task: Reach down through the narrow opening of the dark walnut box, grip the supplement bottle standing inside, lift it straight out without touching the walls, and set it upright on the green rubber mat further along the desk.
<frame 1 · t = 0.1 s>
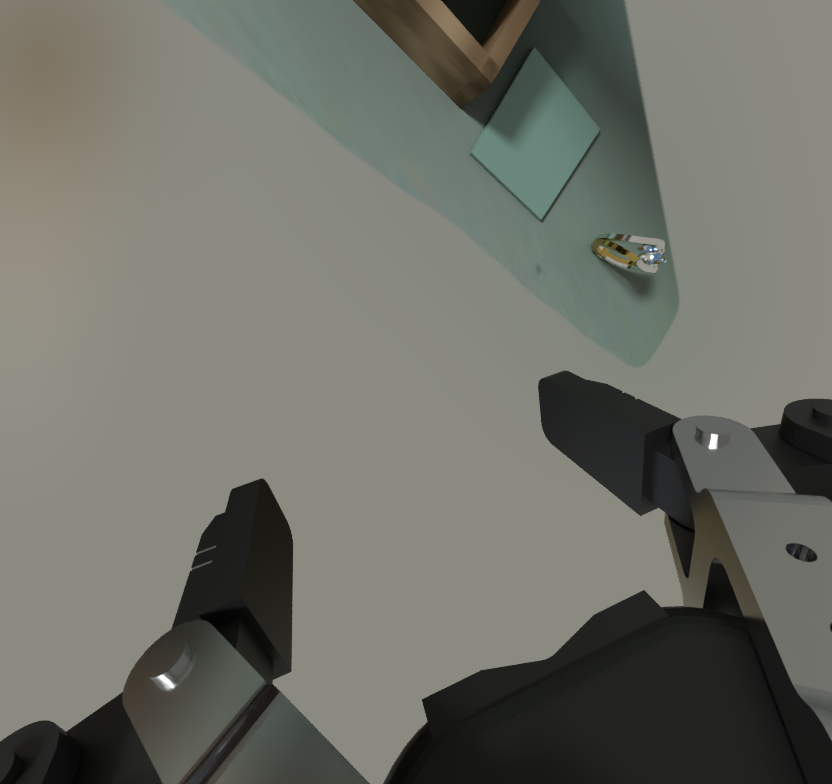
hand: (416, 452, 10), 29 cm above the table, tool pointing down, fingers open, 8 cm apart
ring: (598, 253, 43), on the table
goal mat: (535, 141, 36), on the table
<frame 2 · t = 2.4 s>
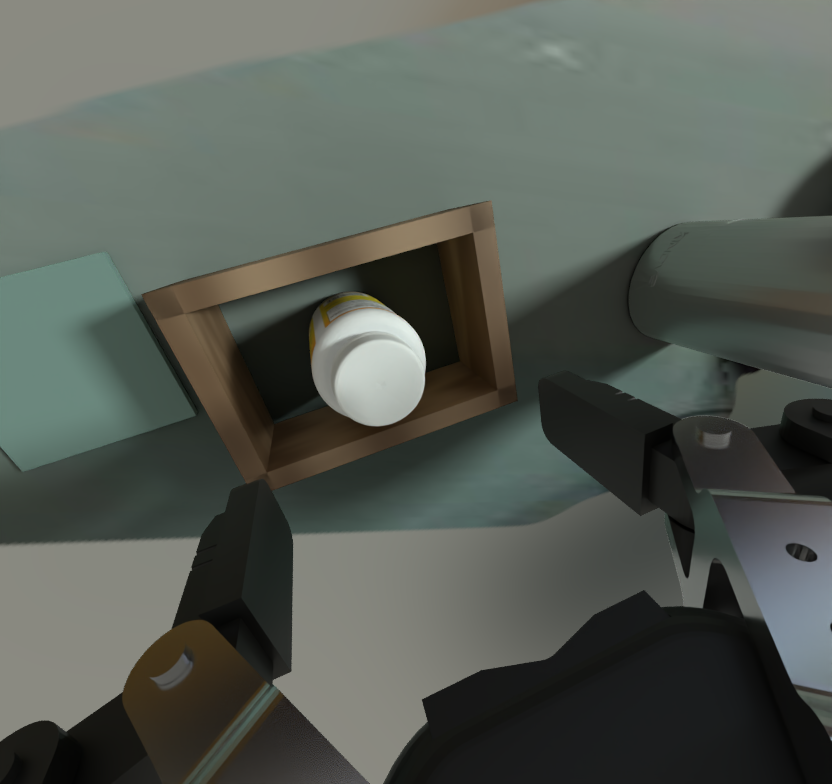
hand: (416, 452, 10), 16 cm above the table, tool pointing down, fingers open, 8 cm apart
supplement bottle: (351, 331, 25), resting in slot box
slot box: (351, 332, 25), on the table
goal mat: (64, 366, 21), on the table
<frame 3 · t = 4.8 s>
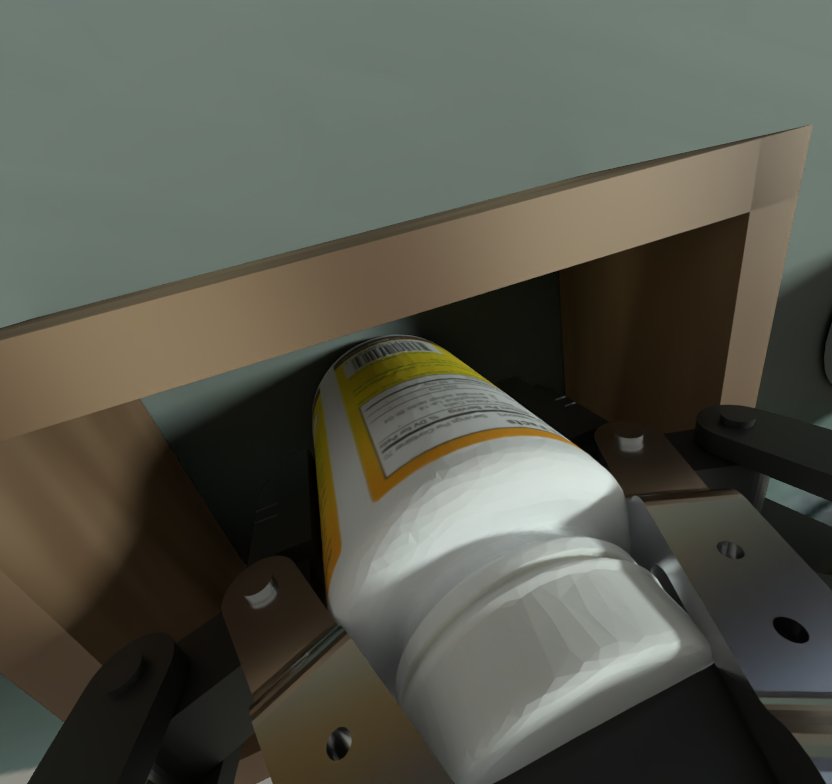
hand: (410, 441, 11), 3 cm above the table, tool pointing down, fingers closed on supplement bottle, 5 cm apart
supplement bottle: (390, 404, 13), resting in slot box, touching gripper
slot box: (392, 406, 13), on the table
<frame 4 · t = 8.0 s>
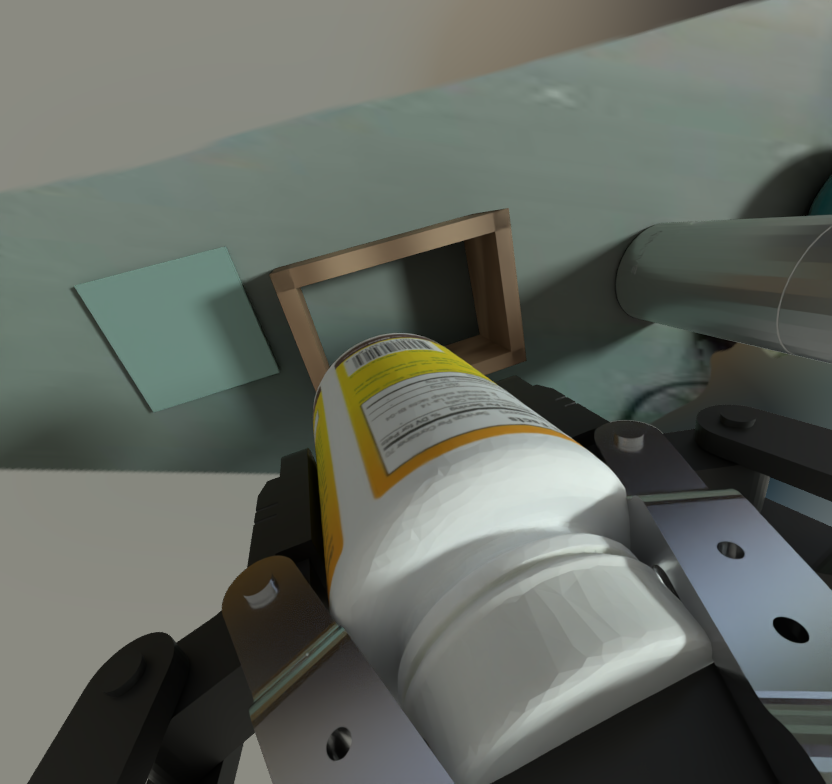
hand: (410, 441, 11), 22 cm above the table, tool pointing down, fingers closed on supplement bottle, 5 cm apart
vase: (829, 213, 41), on the table
supplement bottle: (391, 402, 13), point 19 cm above the table, touching gripper
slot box: (397, 309, 32), on the table
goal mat: (189, 332, 28), on the table
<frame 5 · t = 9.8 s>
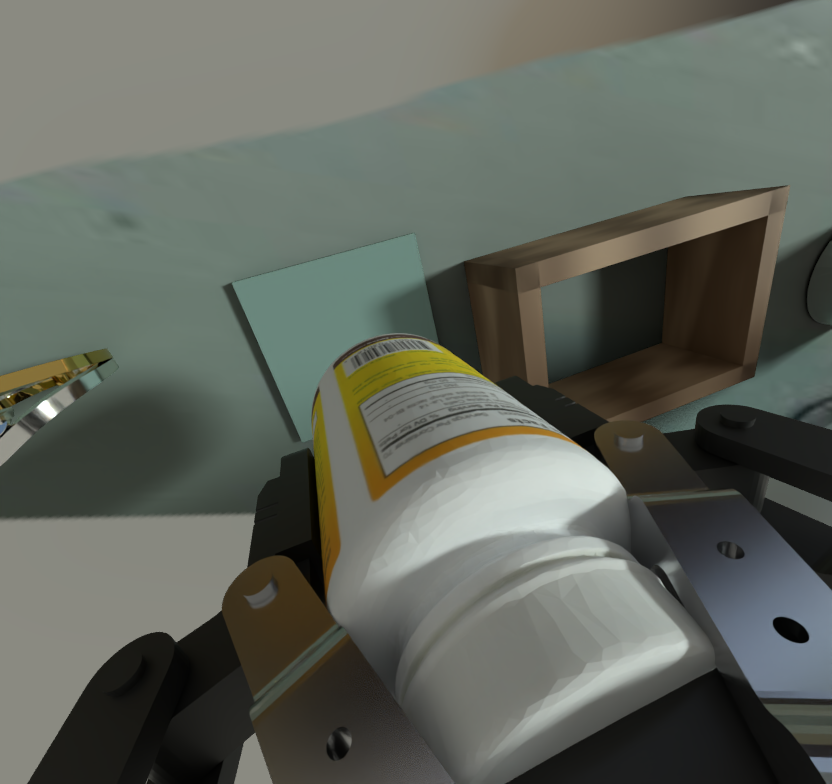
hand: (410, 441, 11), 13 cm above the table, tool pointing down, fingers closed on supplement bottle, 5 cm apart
ring: (72, 368, 19), on the table
supplement bottle: (390, 403, 13), point 10 cm above the table, touching gripper
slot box: (583, 313, 26), on the table
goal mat: (353, 342, 22), on the table
when the fingers open (4 cm above the table, at t = 11.5 s): supplement bottle stays where it is, resting on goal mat.
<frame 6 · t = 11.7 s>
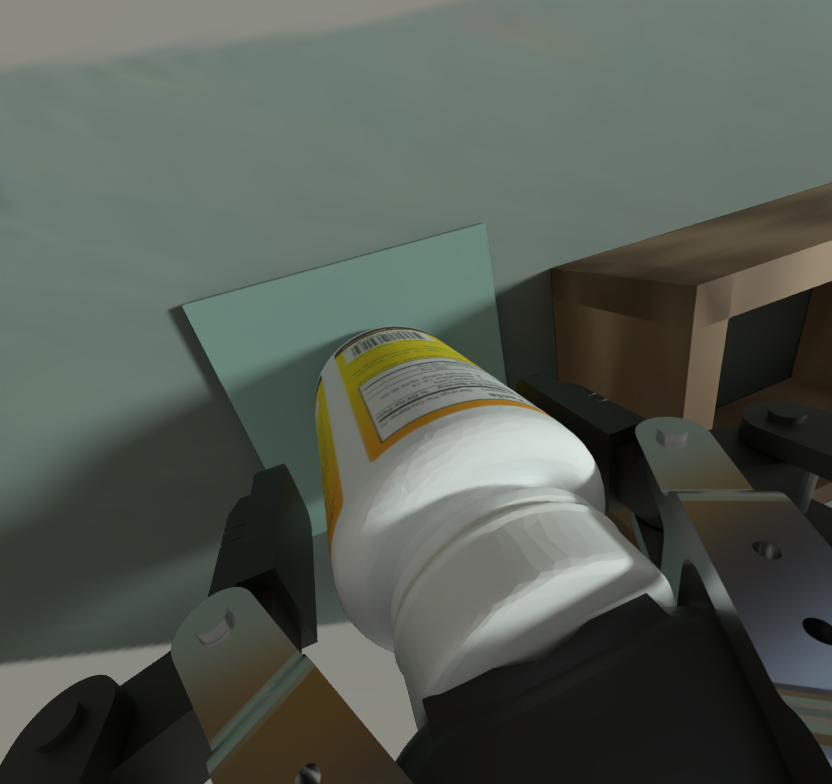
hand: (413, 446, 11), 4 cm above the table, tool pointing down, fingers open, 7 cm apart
supplement bottle: (388, 392, 14), resting on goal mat
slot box: (702, 341, 18), on the table
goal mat: (382, 392, 14), on the table
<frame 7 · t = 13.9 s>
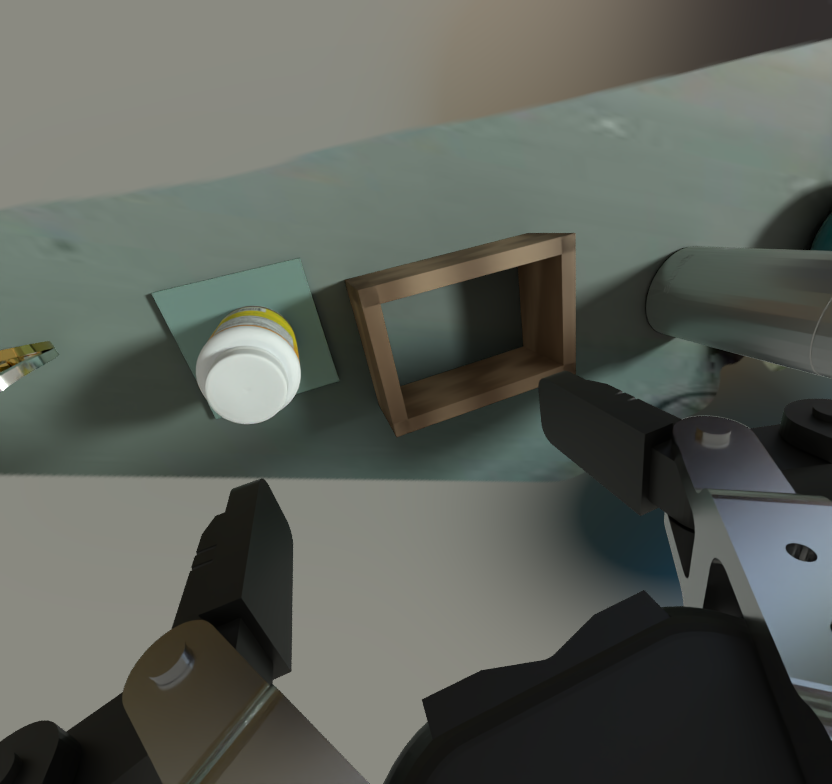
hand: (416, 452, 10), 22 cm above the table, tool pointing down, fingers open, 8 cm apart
vase: (829, 241, 45), on the table
ring: (24, 355, 25), on the table
supplement bottle: (258, 340, 28), resting on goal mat
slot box: (451, 321, 33), on the table
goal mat: (256, 340, 28), on the table
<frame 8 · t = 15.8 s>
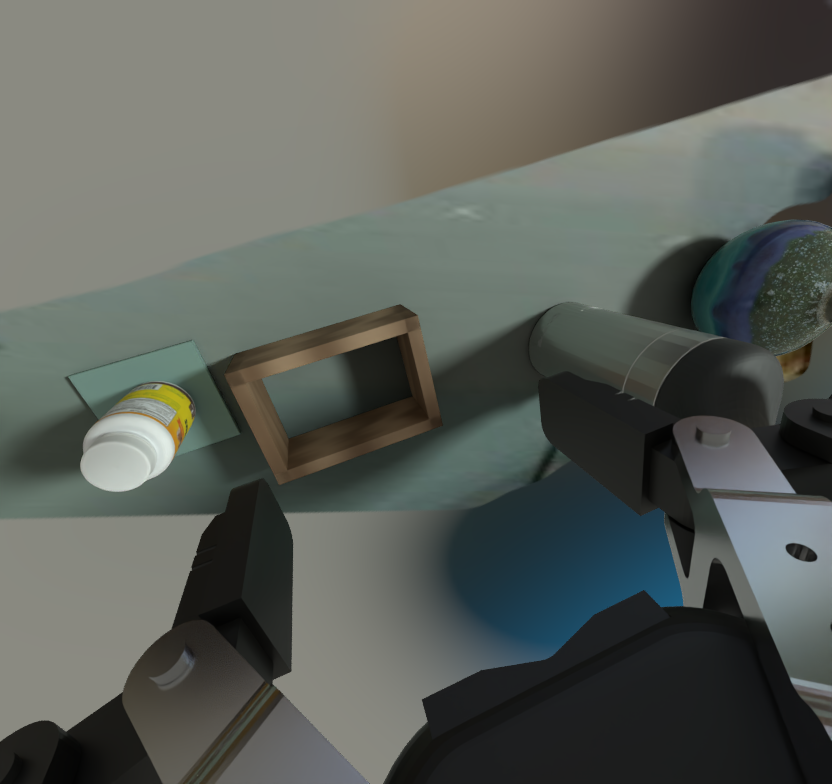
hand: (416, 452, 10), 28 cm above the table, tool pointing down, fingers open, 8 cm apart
vase: (715, 286, 49), on the table
supplement bottle: (164, 406, 34), resting on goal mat
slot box: (339, 380, 38), on the table
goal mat: (163, 405, 34), on the table
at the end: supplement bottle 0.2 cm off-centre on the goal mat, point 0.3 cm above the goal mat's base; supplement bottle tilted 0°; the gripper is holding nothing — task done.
